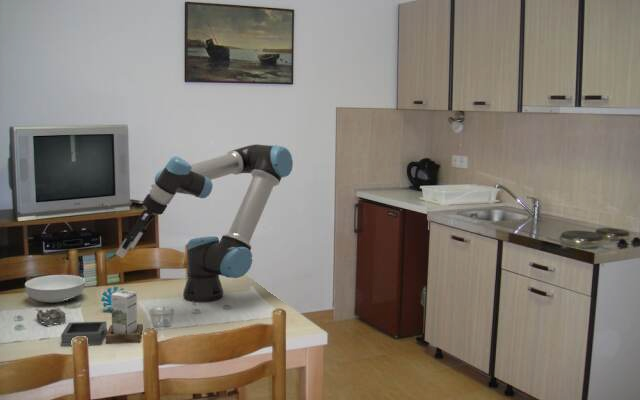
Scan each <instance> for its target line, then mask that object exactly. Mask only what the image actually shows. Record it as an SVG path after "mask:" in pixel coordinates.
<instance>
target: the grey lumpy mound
mask: <svg viewBox="0 0 640 400" xmlns="http://www.w3.org/2000/svg"><path fill="white" fill-rule="evenodd" d="M35 311H37V314H36V320H40V321H39V323H40V322H44V323H43V324H44V325H53V324H54V323H63V322H64V323H66V322H65V321H66V314H67V313H66V312H65V311H64V310H61V308H59V307H55V308H51V309H46V310H45V311H43V310H42V309H38V308H35ZM48 317H49V318H48ZM64 323H63V324H64ZM44 325H43V326H44ZM54 325H55V324H54ZM54 325H53V326H54Z"/></svg>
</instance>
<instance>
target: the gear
mask: <svg viewBox="0 0 640 400" xmlns="http://www.w3.org/2000/svg"><path fill="white" fill-rule="evenodd" d="M118 288H119V287H118V286H113V291H112V287H108V288H107V291H105V290H104V292H103V293H102V297H101V302H103V304H102V306H103V307H107V306H108V307H107V310H108V311H109V312H112V308H111V294H113V293H115V292H117V291H118ZM120 290H124V291H125V289H124V288H123V287H121V288H120ZM120 290H119V291H120ZM107 292H108V293H109V294H108V293H107Z"/></svg>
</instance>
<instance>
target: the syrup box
mask: <svg viewBox="0 0 640 400" xmlns="http://www.w3.org/2000/svg"><path fill="white" fill-rule="evenodd" d="M112 293H113V292H112ZM137 298H138V297H137V291H132V290H131V291H130V290H125V289H124V290H116V292H115V293H113V294H111V305H110V307H111V308H112V310H111V325H112V334H129V333H136V332H137V324H138V310H137V309H138V308H137V307H138V305H137V304H138V303H137V302H138V301H137Z"/></svg>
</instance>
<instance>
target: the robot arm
mask: <svg viewBox="0 0 640 400" xmlns="http://www.w3.org/2000/svg"><path fill="white" fill-rule="evenodd" d="M293 163H294V162H293V156H292V154H291V152H290V150H289V149H287V148H286V147H284V146H281V145H277V144H275V145H267V144H250V145H246V146H242V147H239V148H236V149H233V150H230V151H228V152H227V153H226V154H224V155H221V156H218V157H214V158H210V159H206V160H204V161H200V162H196V163H192V164H190V162H187V160H185V159H183V158H181V157H179V156H172V157H171V158H170V159H169V161H168V162H167V164H165V166H164V168H163V169H160V170H159V171H158V172H157V173H156V175H155V177H154V184H151V185H150V186H151V189H150V190H149V193H148V194H147V195H145V198H144V199H143V201H142V205H143V206H144V207H145V208H146V209H144V210H142V212H141V213H140V216H139V217H138V218H137V220H136V222H135V223H134V225H133V226H132V227H131V229H130V230H129V232H128V233H127V234H125V235H123V238H124V240H123V242H122V243H121V244H120V245H119V248H118V249H117V250H116V253H115V255H116V256H117V257H120V258H121V259H124V257H125V256H126V254H127V253H128V251H129V250H130V249H132V250H134V248H135V246H137V244H138V242H139V241H140V240H141V237H142V236H143V235H144V234H146V233H147V232H148V231H147V229H148V227H149V225H150V224H151V222H153V220H154V218H155V216H156V215H163V214H164V212H165V211H166V209H167V207H168V205H170V203H171V202H172V200H173V198H174V197H175V195H176V194H177V193H178V194H184V195H190V196H194V197H195V198H199V199H206V198H208V197H209V195H210V194H211V193H212V191H213V182H212V180H215V179H218V178H222V177H225V176H228V175H232V174H233V175H240V174H241V175H242V174H251V176H252V178H251V181H250V182H249V183H250V184H249V185H248V188H247V190H246V192H245V195H244V197H243V199H242V201H241V204H240V206H239V208H238V209H237V210H238V211H237V212H236V215H235V218H234V219H233V221H232V224H231V226H230V229H229V230H228V233H225V234H223V235H222V236H221V238H219V237H218V236H202V237H195V238H191V239H189V241H188V242H187V251H186V252H187V279H186V282H185V286H184V288H183V299H184V300H186V301H188V302H192V301H195V303H211V302H215V301H218V300H222V299H223V298H224V288H223V285H222V283H221V280H220V279H221V278H220V276H223V277H225V278H233V279H237V278H238V279H239V278H241V277H243V276H245V274H247V273H248V272H249V270H250V269H251V266H252V264H253V254H252V252H251V250H252V245H251V243H250V242H251V240H252V238H253V235H254V232H255V230H256V228H257V225H258V223H259V221H260V219H261V216H262V215H263V212H264V209H265V207H266V205H267V203H268V200H269V199H270V196H271V193H272V192H273V191H272V190H273V188H274V187H276V186H278V185H279V184H280V182H281V180H282V178H286V177H288V176H289V175H290V174H291V172H292V171H293V166H294V164H293ZM219 239H220V240H219Z"/></svg>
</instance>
